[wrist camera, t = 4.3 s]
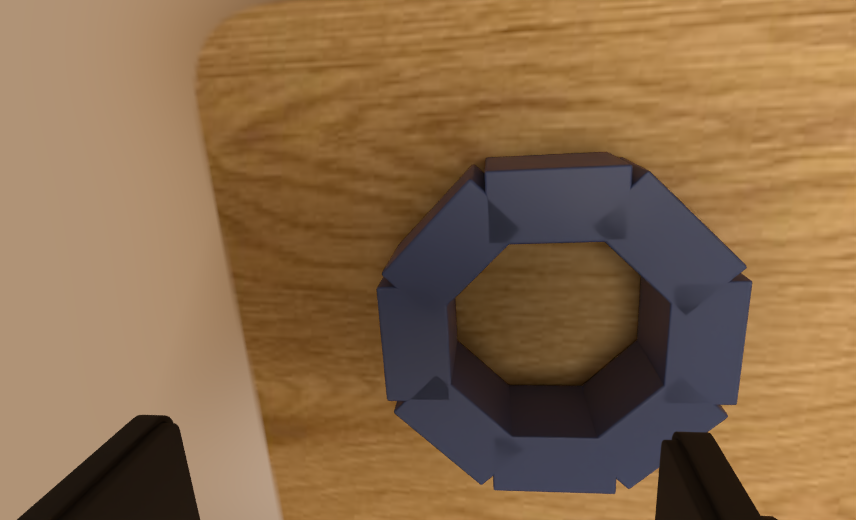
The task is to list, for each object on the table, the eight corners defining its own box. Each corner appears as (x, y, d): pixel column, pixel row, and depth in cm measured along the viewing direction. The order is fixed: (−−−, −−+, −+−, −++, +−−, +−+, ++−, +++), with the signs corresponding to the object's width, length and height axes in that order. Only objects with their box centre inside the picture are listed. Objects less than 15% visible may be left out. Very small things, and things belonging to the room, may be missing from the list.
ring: (408, 431, 20) (394, 488, 17) (386, 162, 17) (365, 176, 14) (690, 435, 19) (725, 497, 16) (718, 146, 16) (768, 158, 13)
